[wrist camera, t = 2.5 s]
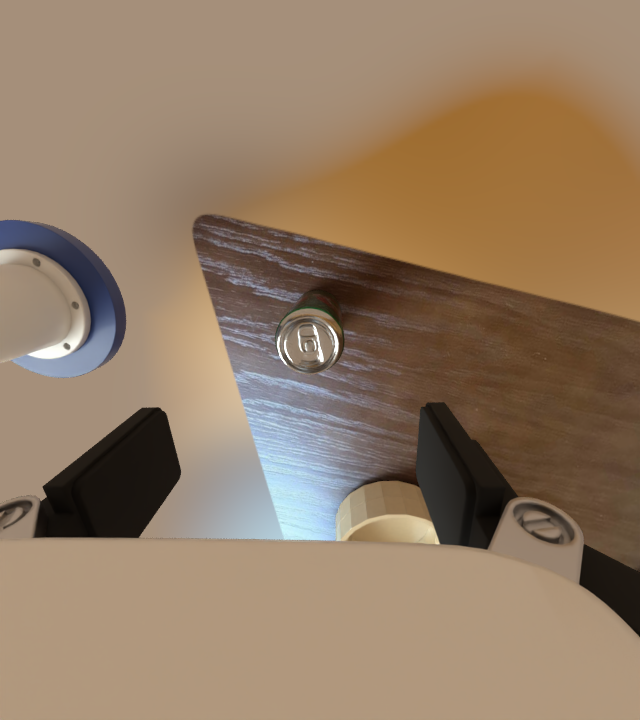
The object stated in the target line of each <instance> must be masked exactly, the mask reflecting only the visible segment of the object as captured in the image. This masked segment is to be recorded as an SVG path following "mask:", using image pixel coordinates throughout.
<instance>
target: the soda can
mask: <svg viewBox="0 0 640 720" xmlns="http://www.w3.org/2000/svg"><path fill="white" fill-rule="evenodd" d="M275 344H276V349H277V351H278V354H279V356H280V357H281V359H282V360H283V362H284V363H285V364H286V365H287V366H288V367H289V368H291V369H292V370H294V371H296V372H298V373H301V374H310V375H311V374H317V373H320V372H323V371H325V370H328V369H329V368H331V367H332V366H333V365H334V364H335V363H336V362H337V361H338V360H339V358H340V356H341V354H342V352H343V348H344V331H343V321H342V312H341V307H340V304H339V302H338V301H337V299H336V298H335V297H334V296H333V295H332V294H330V293H328V292H326V291H323V290H312V291H309V292H307V293H305V294H303V295H302V296H301V297H300V298H299V299H298V301H297V302H296V303H295V304H294V305H293V307H292V308H291V309H290V310H289V312H288V313H287V314H286V315H285V317H284V318H283V319H282V321H281V322H280V323H279V325H278V328H277V331H276V335H275Z"/></svg>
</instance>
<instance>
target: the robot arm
mask: <svg viewBox="0 0 640 720" xmlns="http://www.w3.org/2000/svg"><path fill="white" fill-rule="evenodd" d="M90 325H91V316H90V309H89V306H88V302H87V300H86V297H85V295H84V293H83V291H82V289H81V288H80V286H79V285H78V283H77V282H76V280H75V279H74V278H73V277H72V276H71V275H70V273H69V272H68V271H67V270H65V269H64V268H63V267H62V266H61V265H60V264H58V263H57V262H55V261H54V260H52V259H51V258H49V257H47V256H45V255H43V254H40V253H38V252H35V251H31V250H26V249H3V250H0V363H3V362H6V361H9V360H12V359H15V358H18V357H21V356H24V355H30V356H33V357H37V358H41V359H55V358H61V357H63V356H66V355H69V354H71V353H73V352H75V351H77V350H78V349H79V348H80V347H81V346H82V345H83V344H84V342H85V341H86V339H87V337H88V335H89V332H90ZM180 475H181V469H180V465H179V461H178V457H177V453H176V449H175V445H174V442H173V438H172V434H171V430H170V426H169V422H168V418H167V415H166V413H165V412H164V411H162V410H161V409H160V408H158V407H157V408H141V409H140V410H138V411H137V412H136V413H135V414H133V415H132V416H131V417H130V418H128V419H127V420H126V421H125V422H123V423H122V424H121V425H120V426H118V427H117V428H116V429H115V430H113V431H112V432H111V433H109V434H108V435H107V436H106V437H104V438H103V439H102V440H101V441H99V442H98V443H97V444H96V445H94V446H93V447H92V448H91V449H89V450H88V451H87V452H86V453H84V454H83V455H82V456H81V457H79V458H78V459H77V460H76V461H74V462H73V463H72V464H71V465H69V466H68V467H67V468H65V470H63V471H62V472H60V473H59V474H58V475H57V476H55V477H54V478H53V479H52V480H50V481H49V482H48V483H47V484H45V485H44V486H43V489H44V491H45V493H46V496H47V497H46V498H45V499H44V500H42V501H40V499H39V498H38V497H36V496H30V495H27V496H21V497H17V498H13V499H11V500H7V501H5V502H3V503H0V720H640V572H638V571H636V570H634V569H632V568H630V567H628V566H626V565H624V564H622V563H620V562H618V561H616V560H614V559H612V558H610V557H608V556H606V555H605V554H603V553H601V552H599V551H597V550H595V549H593V548H591V547H589V546H587V545H585V544H584V537H583V532H582V530H581V529H580V527H579V526H578V524H577V523H576V522H575V521H574V520H573V519H572V518H571V517H570V516H569V515H568V514H566V513H565V512H564V511H562V510H561V509H559V508H558V507H556V506H554V505H552V504H550V503H548V502H545V501H542V500H539V499H536V498H529V497H518V496H517V494H516V493H515V492H514V490H513V489H512V487H511V486H510V485H509V483H508V482H507V481H506V479H505V478H504V477H503V475H502V474H501V473H500V471H499V470H498V469H497V467H496V466H495V465H494V463H493V462H492V461H491V459H490V458H489V457H488V455H487V454H486V453H485V451H484V450H483V449H482V447H481V446H480V444H479V443H478V442H477V441H476V440H471V439H470V437H469V436H468V434H467V433H466V432H465V430H464V429H463V427H462V426H461V425H460V423H459V422H458V420H457V419H456V418H455V416H454V415H453V414H452V412H451V411H450V409H449V408H448V407H447V405H446V404H445V403H444V402H439V403H427V404H426V407H421V409H420V421H419V434H418V447H417V461H416V477H417V481H418V483H419V486H420V489H421V492H422V495H423V498H424V500H425V503H426V506H427V509H428V512H429V515H430V517H431V520H432V523H433V526H434V529H435V531H436V534H437V537H438V540H439V543H440V544H426V543H409V542H369V541H320V540H265V539H263V540H262V539H261V540H260V539H193V538H191V539H190V538H139V536H140V535H141V533H142V532H143V531H144V529H145V528H146V526H147V525H148V524H149V522H150V521H151V519H152V518H153V516H154V515H155V513H156V512H157V511H158V509H159V508H160V506H161V505H162V503H163V502H164V501H165V499H166V497H167V496H168V495H169V493H170V492H171V490H172V489H173V487H174V486H175V485H176V483H177V482H178V480H179V478H180Z"/></svg>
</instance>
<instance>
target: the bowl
mask: <svg viewBox="0 0 640 720" xmlns="http://www.w3.org/2000/svg"><path fill="white" fill-rule="evenodd" d="M336 541H369V542H409V543H426V544H440V543H439V540H438V537H437V534H436V531H435V529H434V526H433V523H432V520H431V517H430V515H429V512H428V509H427V506H426V503H425V500H424V498H423V495H422V492H421V489H420V488H419V487H417V486H415V485H412V484H408V483H404V482H400V481H381V482H380V481H379V482H375V483H371V484H368V485H364V486H362V487H360V488H359V489H357V490H355V491H353V492H352V493H350V494H349V495H348V496H347V497H346V499H345V500H344V501H343V502H342V503H341V504H340V506H339V509H338V512H337V514H336Z"/></svg>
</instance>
